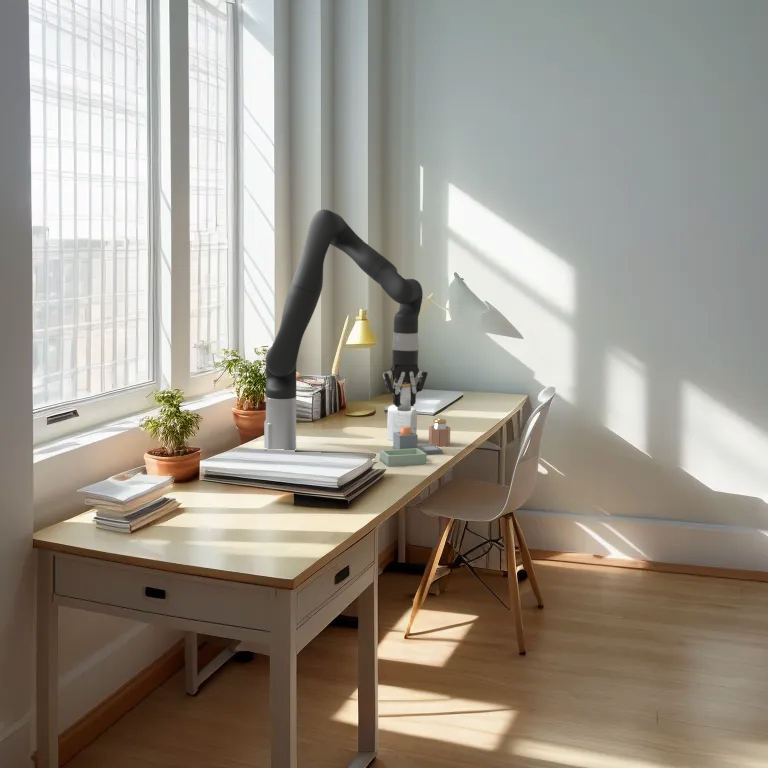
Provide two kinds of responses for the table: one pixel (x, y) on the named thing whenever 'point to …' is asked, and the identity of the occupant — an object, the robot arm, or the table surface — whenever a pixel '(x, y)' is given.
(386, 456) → the trough
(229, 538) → the table surface
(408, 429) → the button
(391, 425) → the photo printer
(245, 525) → the table surface
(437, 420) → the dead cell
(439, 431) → the cup
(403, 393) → the cylinder
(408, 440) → the grey stepped block
